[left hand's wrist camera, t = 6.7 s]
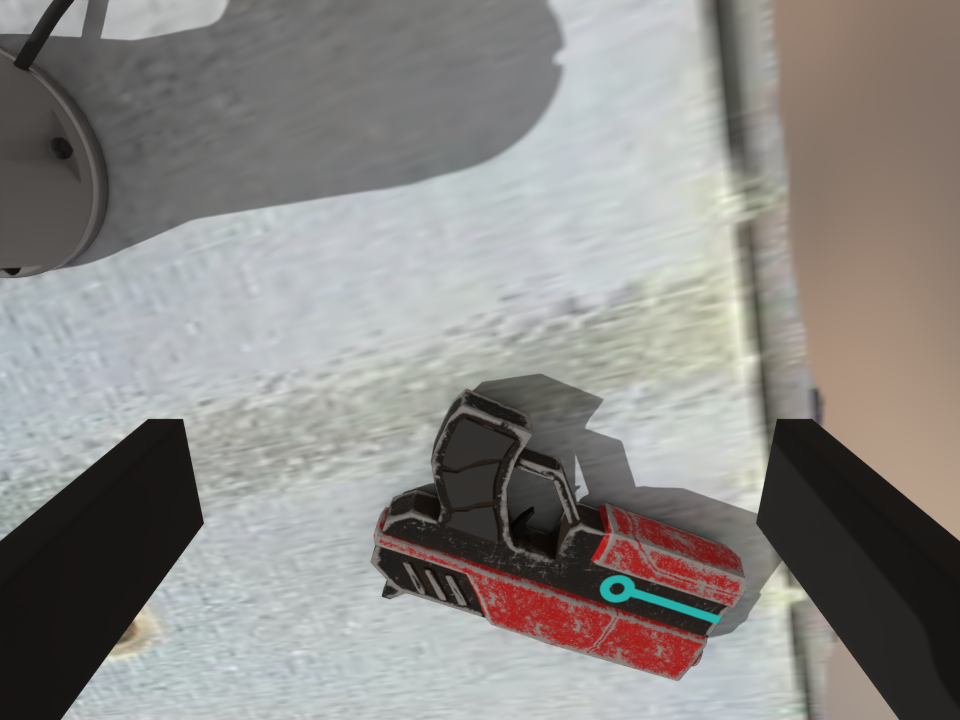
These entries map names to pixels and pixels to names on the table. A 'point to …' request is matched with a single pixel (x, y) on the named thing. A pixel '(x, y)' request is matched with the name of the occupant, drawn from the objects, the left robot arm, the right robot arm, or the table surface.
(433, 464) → the gun
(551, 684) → the table surface
